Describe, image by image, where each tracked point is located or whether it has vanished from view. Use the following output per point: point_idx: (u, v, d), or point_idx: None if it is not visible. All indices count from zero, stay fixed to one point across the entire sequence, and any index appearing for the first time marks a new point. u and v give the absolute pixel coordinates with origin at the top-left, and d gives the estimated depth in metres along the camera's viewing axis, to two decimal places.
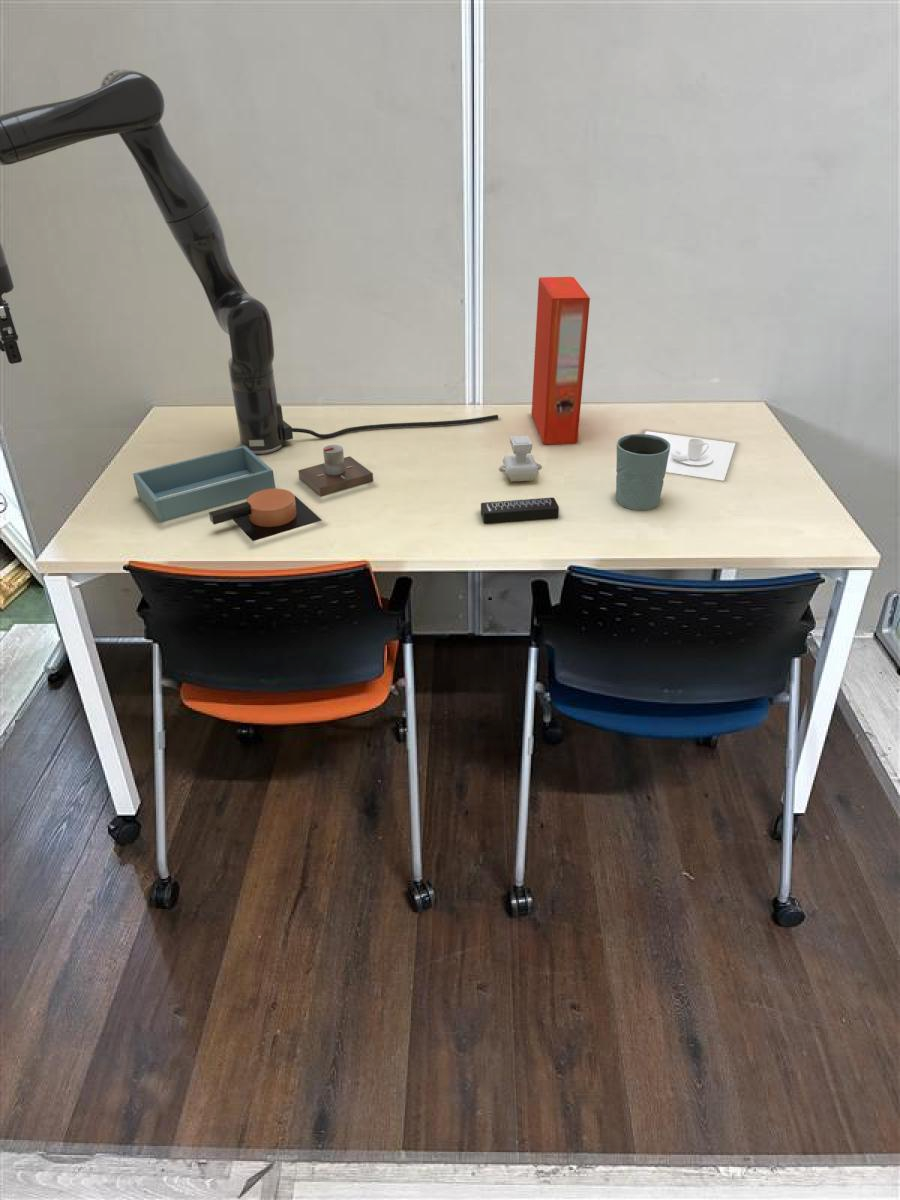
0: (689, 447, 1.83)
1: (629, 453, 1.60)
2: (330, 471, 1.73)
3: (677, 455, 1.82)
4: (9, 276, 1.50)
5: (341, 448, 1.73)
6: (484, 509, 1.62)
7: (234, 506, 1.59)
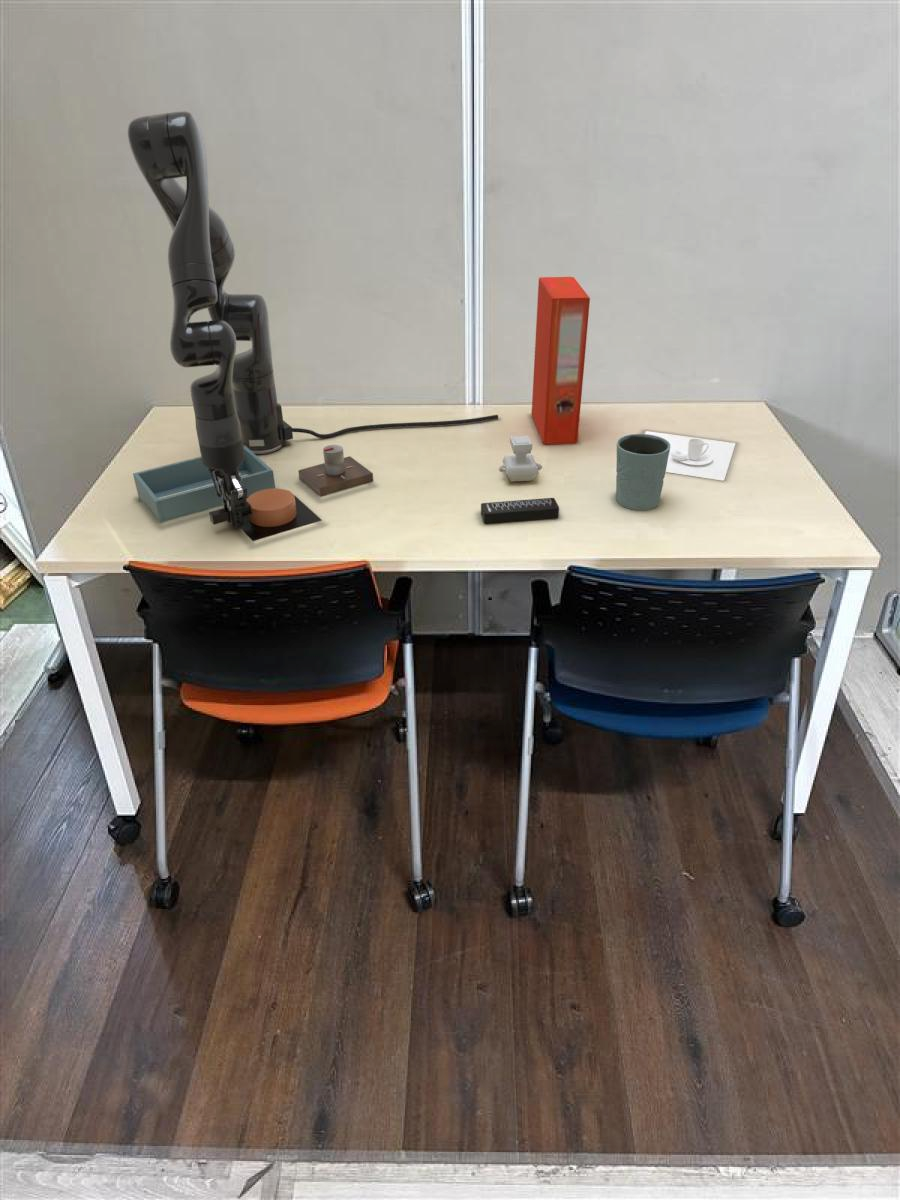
0: (689, 447, 1.83)
1: (629, 452, 1.60)
2: (330, 471, 1.73)
3: (677, 455, 1.82)
4: (243, 447, 1.52)
5: (341, 448, 1.73)
6: (484, 509, 1.62)
7: None
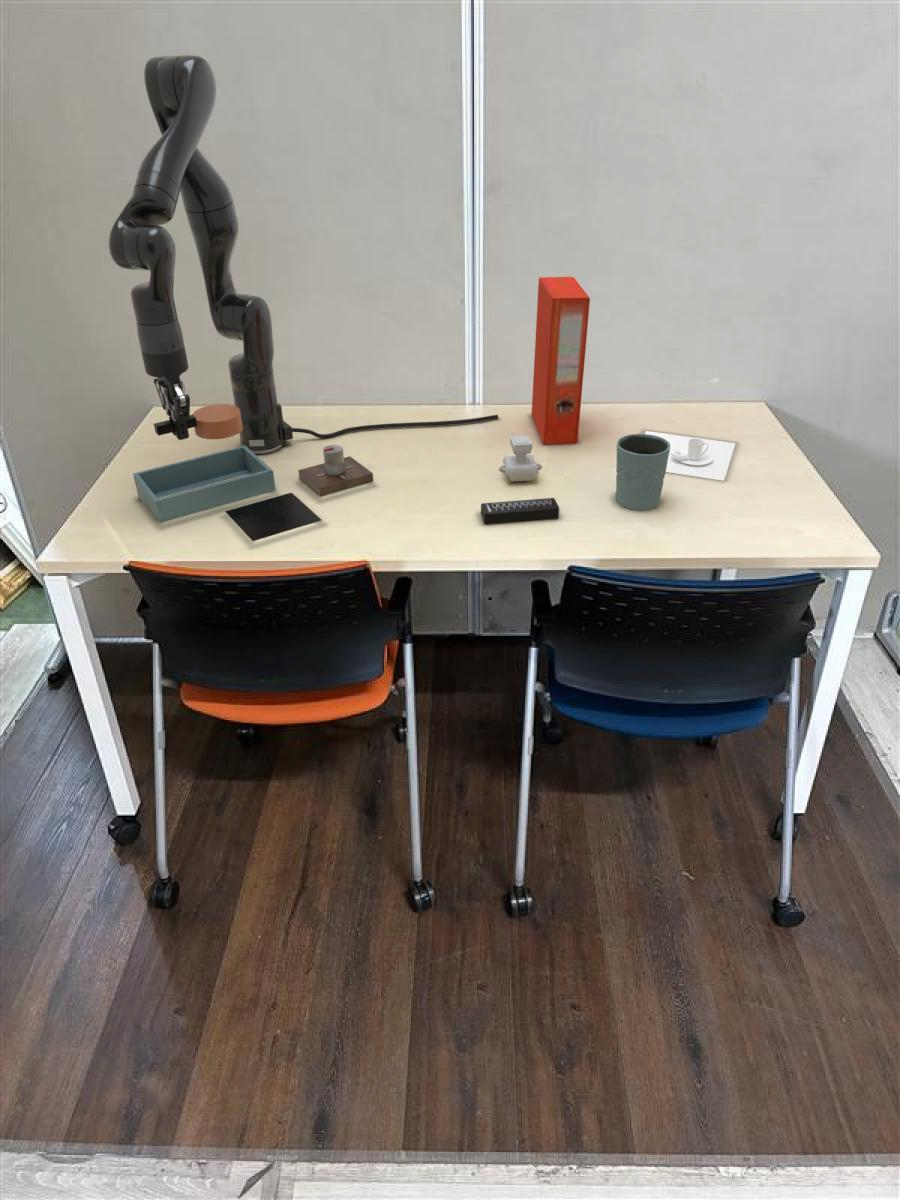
0: (689, 447, 1.83)
1: (629, 452, 1.60)
2: (330, 471, 1.73)
3: (677, 455, 1.82)
4: (186, 356, 1.54)
5: (341, 448, 1.73)
6: (484, 510, 1.62)
7: None
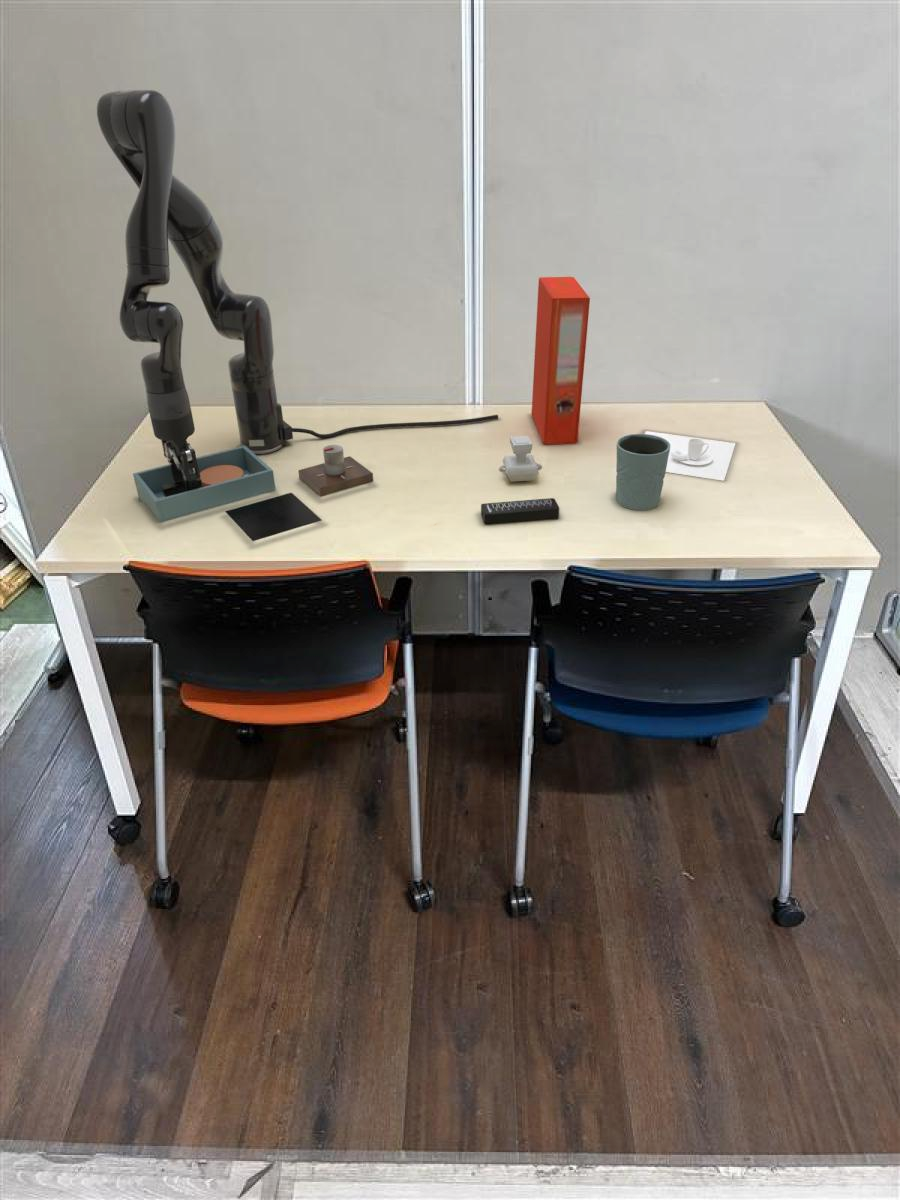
0: (689, 447, 1.83)
1: (629, 452, 1.60)
2: (330, 471, 1.73)
3: (677, 455, 1.82)
4: (192, 420, 1.62)
5: (341, 448, 1.73)
6: (484, 510, 1.62)
7: None
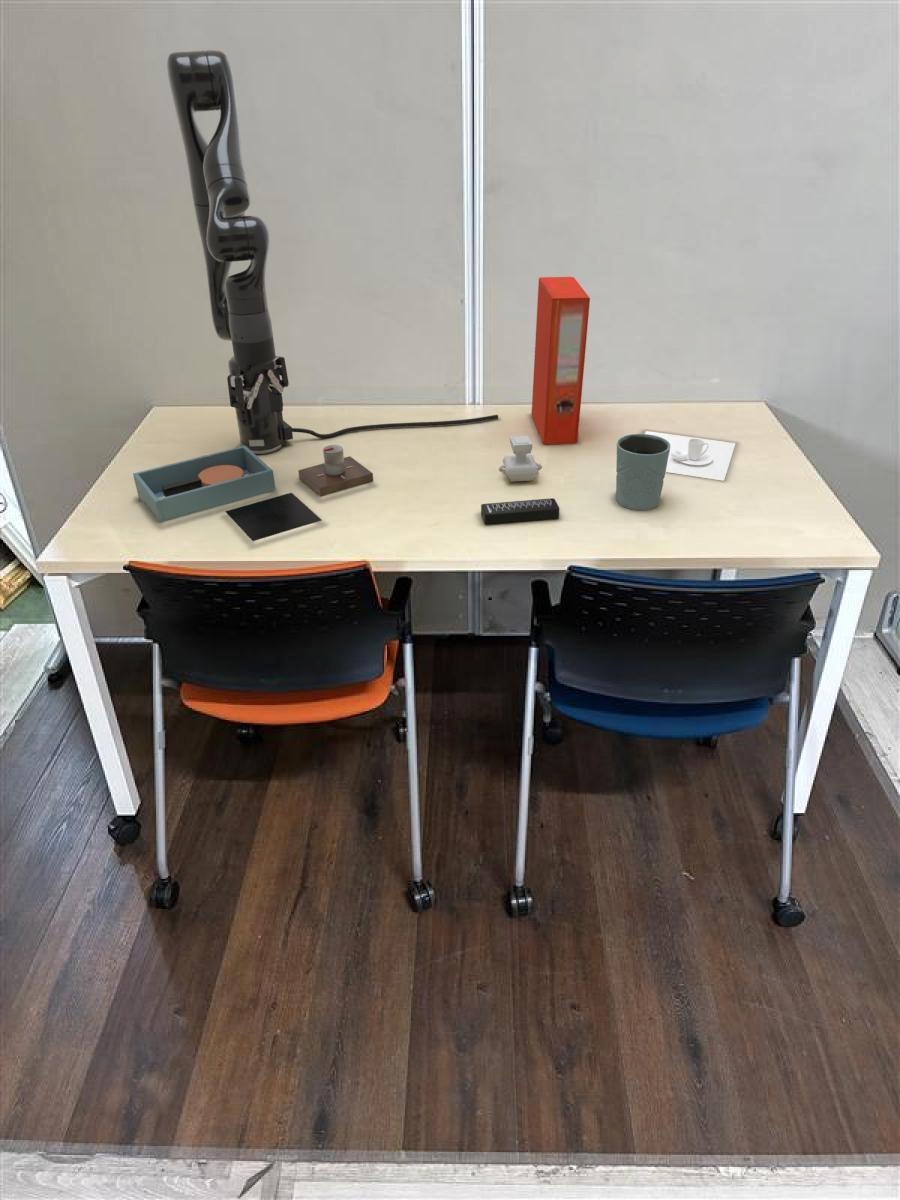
0: (689, 447, 1.83)
1: (629, 452, 1.60)
2: (330, 471, 1.73)
3: (677, 455, 1.82)
4: (262, 352, 1.56)
5: (341, 448, 1.73)
6: (485, 510, 1.62)
7: (185, 480, 1.69)
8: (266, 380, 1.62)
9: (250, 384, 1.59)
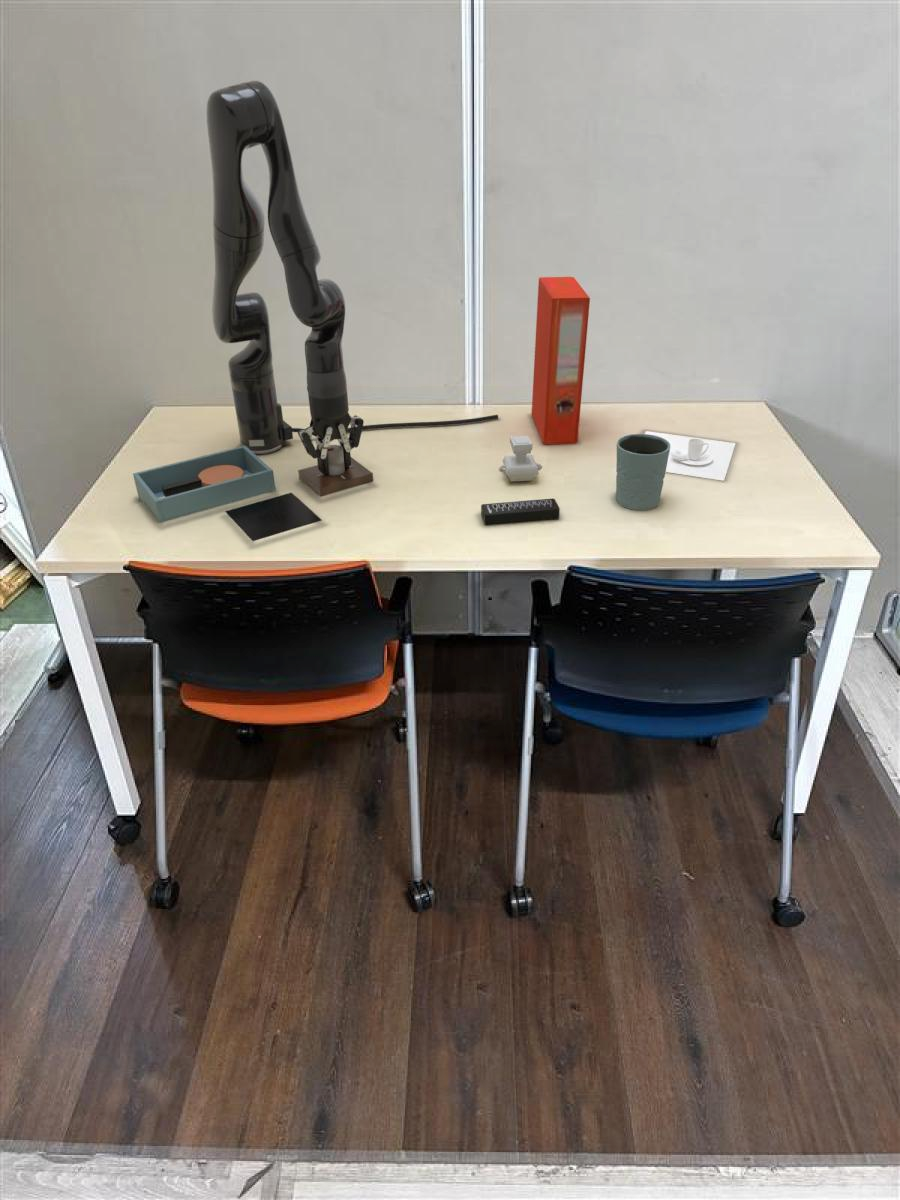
0: (689, 447, 1.83)
1: (629, 452, 1.60)
2: (329, 471, 1.73)
3: (677, 455, 1.82)
4: (328, 408, 1.64)
5: (341, 448, 1.73)
6: (485, 511, 1.62)
7: (185, 480, 1.69)
8: (338, 432, 1.70)
9: (318, 434, 1.68)
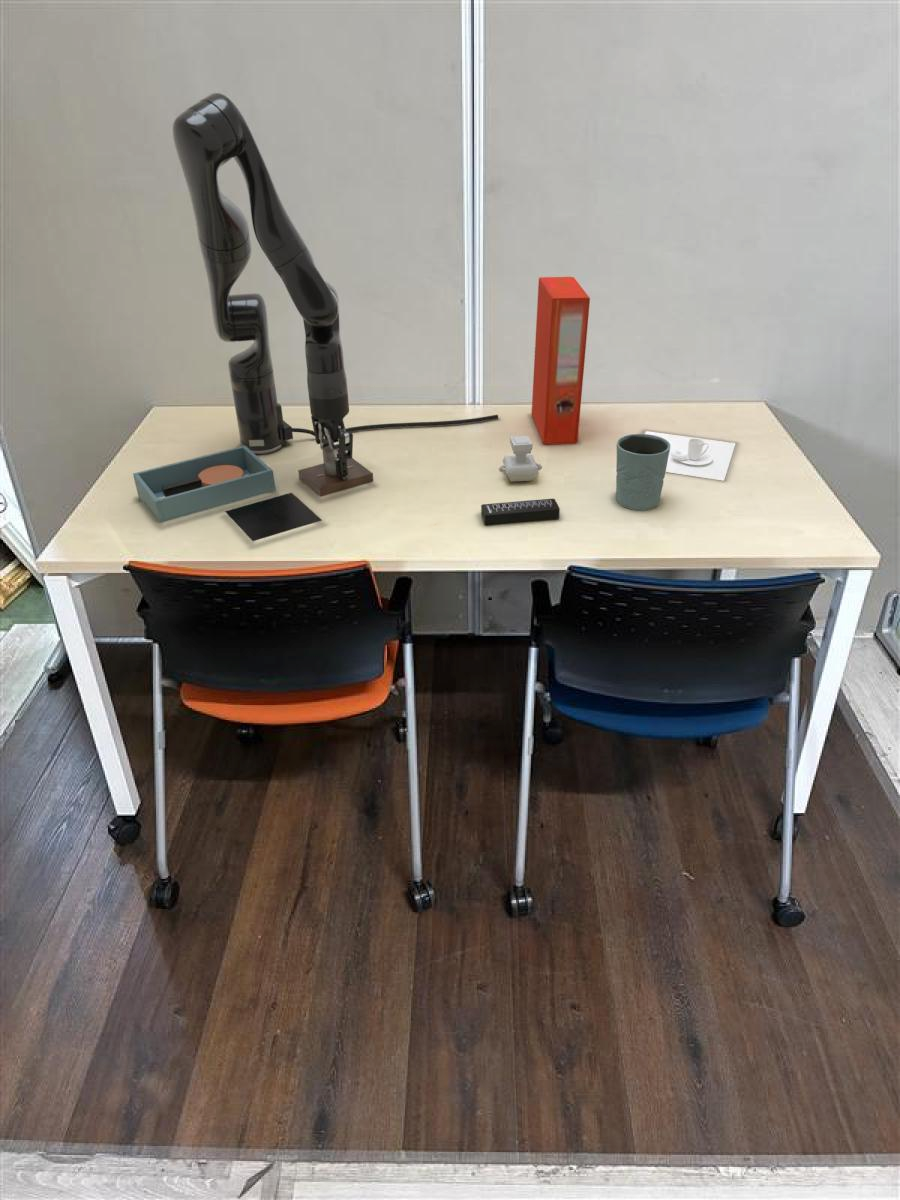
0: (689, 447, 1.83)
1: (629, 452, 1.60)
2: None
3: (677, 455, 1.82)
4: None
5: None
6: (485, 511, 1.62)
7: (185, 480, 1.69)
8: None
9: None
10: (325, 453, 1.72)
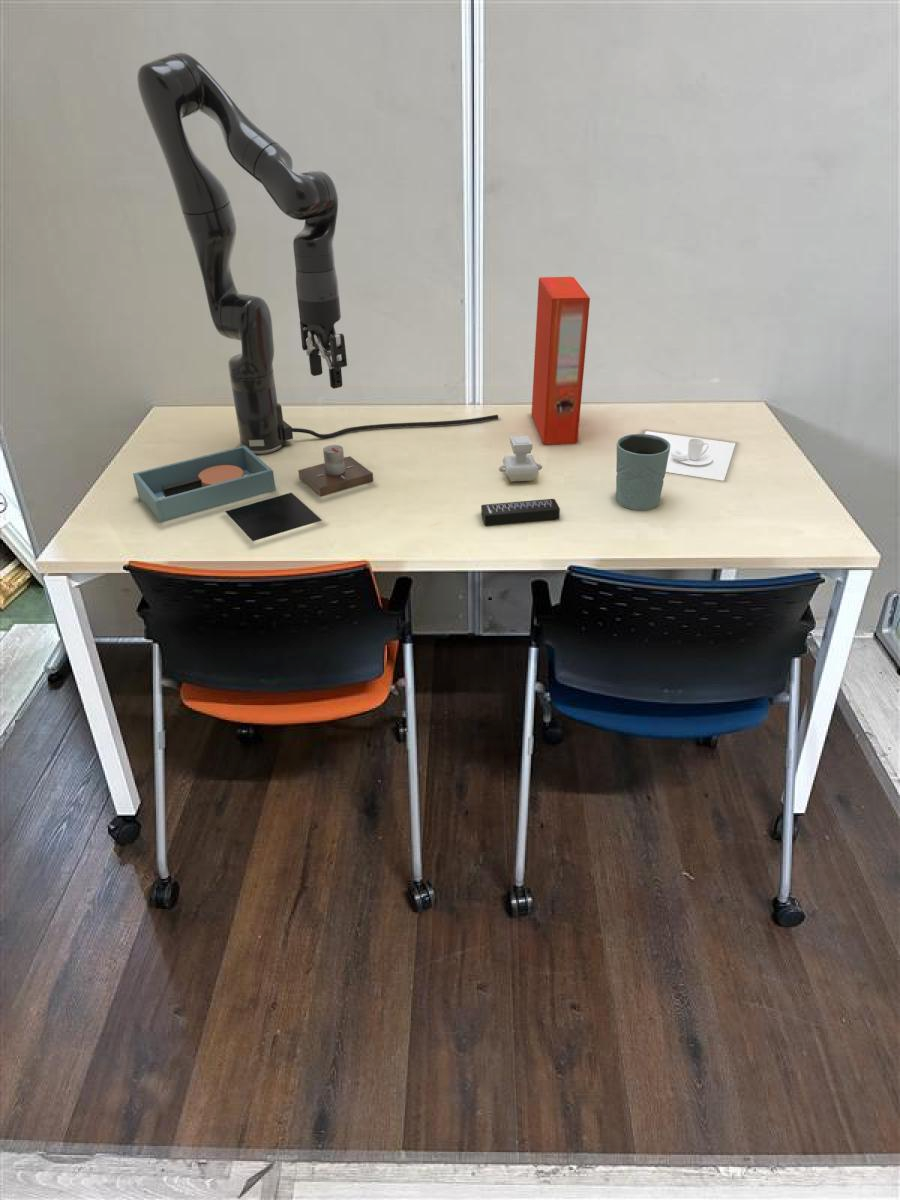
0: (689, 447, 1.83)
1: (629, 452, 1.60)
2: (343, 469, 1.74)
3: (677, 455, 1.82)
4: (339, 306, 1.57)
5: (333, 445, 1.74)
6: (485, 511, 1.62)
7: (185, 480, 1.69)
8: None
9: None
10: (325, 453, 1.72)
